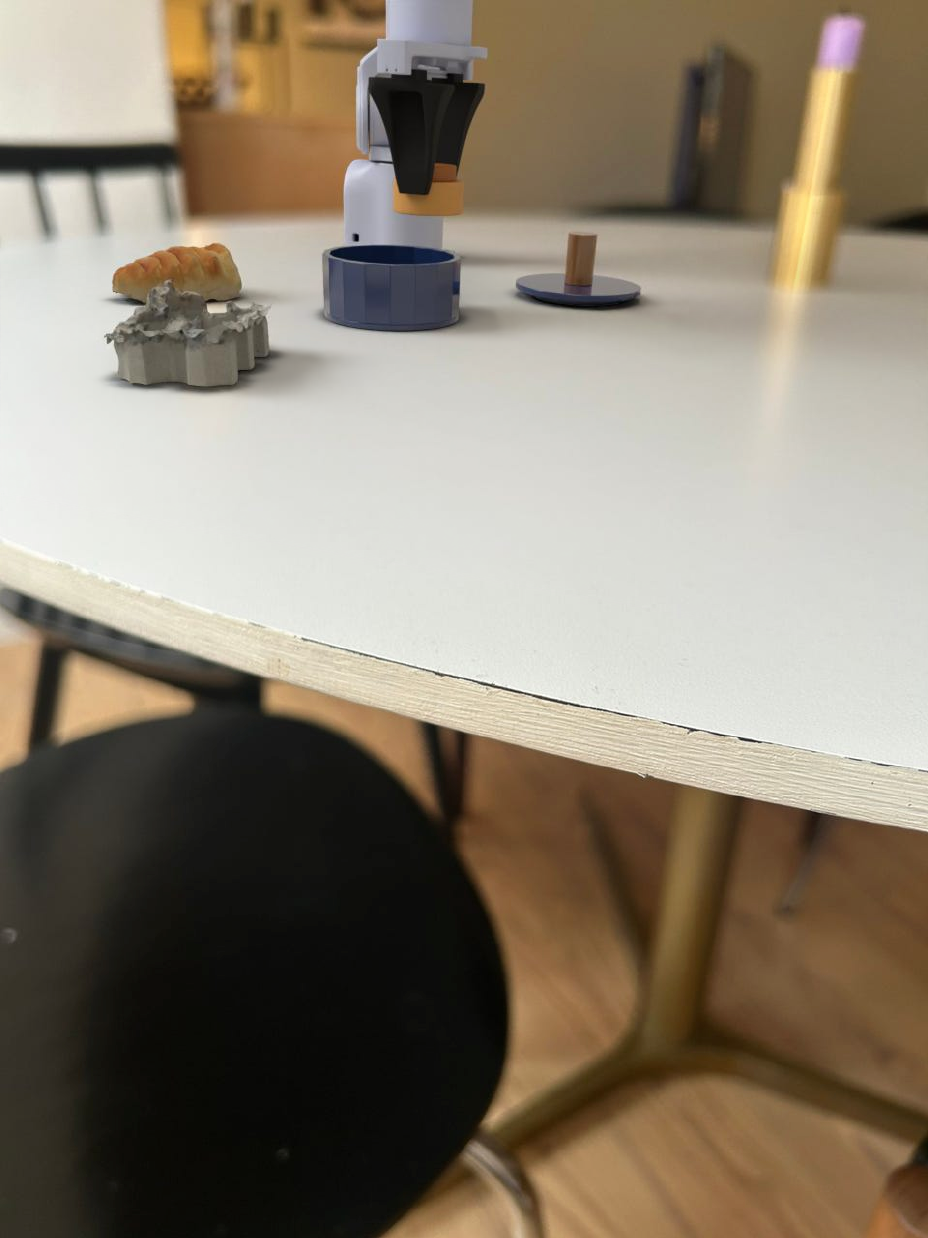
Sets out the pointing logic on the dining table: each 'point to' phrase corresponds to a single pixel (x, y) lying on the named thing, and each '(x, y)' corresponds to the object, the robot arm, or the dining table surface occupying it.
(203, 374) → the egg carton
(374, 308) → the pot
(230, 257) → the pastry
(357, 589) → the dining table surface
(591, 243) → the lid
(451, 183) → the stepped round knob
